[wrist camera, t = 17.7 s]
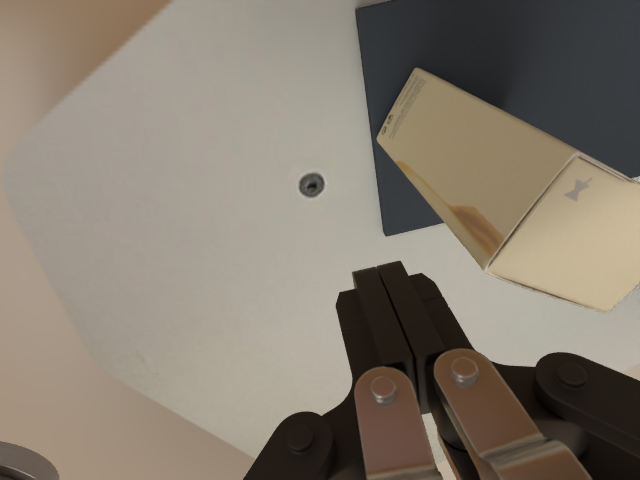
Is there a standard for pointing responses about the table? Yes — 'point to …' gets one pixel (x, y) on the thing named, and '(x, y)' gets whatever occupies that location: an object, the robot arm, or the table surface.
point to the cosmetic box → (518, 195)
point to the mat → (507, 76)
